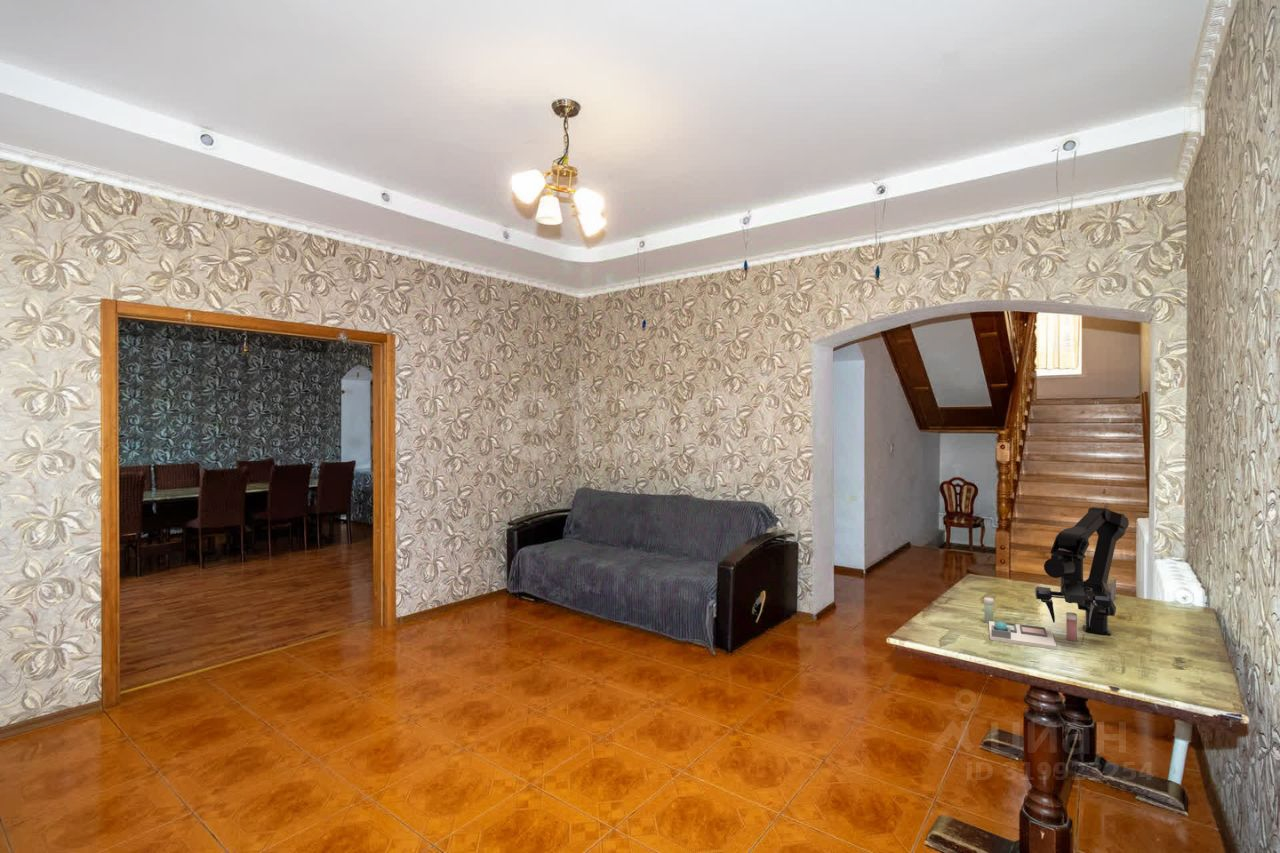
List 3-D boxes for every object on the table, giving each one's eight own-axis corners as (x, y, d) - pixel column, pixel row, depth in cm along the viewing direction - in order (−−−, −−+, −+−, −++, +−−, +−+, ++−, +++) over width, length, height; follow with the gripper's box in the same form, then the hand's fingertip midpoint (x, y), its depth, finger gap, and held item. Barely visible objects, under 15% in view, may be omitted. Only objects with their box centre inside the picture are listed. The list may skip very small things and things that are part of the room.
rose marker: (1065, 637, 191) (1065, 611, 191) (1076, 639, 190) (1076, 613, 190) (1066, 640, 189) (1066, 614, 189) (1077, 641, 187) (1077, 615, 187)
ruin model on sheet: (1106, 597, 237) (1106, 571, 237) (1116, 598, 235) (1116, 573, 235) (1100, 603, 229) (1100, 576, 229) (1110, 604, 227) (1110, 578, 227)
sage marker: (984, 620, 208) (984, 596, 208) (993, 621, 206) (993, 597, 206) (984, 622, 205) (984, 598, 205) (993, 624, 204) (993, 599, 204)
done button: (995, 628, 192) (995, 621, 192) (1006, 630, 191) (1006, 622, 191) (995, 631, 190) (995, 623, 190) (1006, 633, 188) (1006, 625, 188)
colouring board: (988, 624, 204) (988, 614, 204) (1050, 632, 196) (1050, 622, 196) (989, 639, 189) (989, 630, 189) (1056, 649, 181) (1056, 639, 181)
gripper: (1037, 575, 187) (1038, 627, 187) (1114, 583, 178) (1114, 637, 178) (1034, 568, 196) (1035, 617, 196) (1107, 574, 187) (1107, 626, 188)
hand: (1071, 624), depth 189 cm, fingers open, 9 cm apart
